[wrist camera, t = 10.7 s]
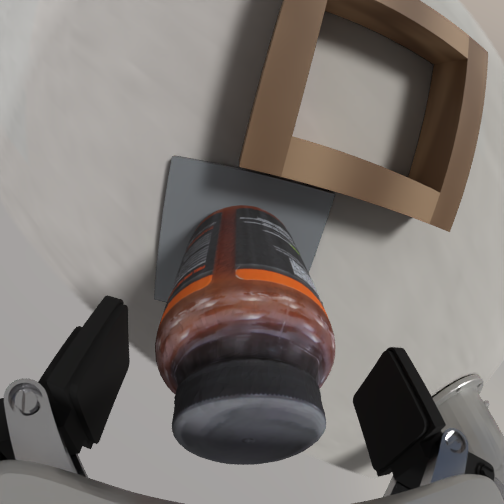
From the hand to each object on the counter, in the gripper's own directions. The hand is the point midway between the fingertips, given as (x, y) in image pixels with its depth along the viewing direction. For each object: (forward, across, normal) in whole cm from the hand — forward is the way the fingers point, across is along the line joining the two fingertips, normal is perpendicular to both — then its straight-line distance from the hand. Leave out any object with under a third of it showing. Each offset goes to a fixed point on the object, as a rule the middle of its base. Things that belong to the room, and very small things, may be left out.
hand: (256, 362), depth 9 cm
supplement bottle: (+8, +1, 0) cm, 8 cm away
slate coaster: (+8, +1, -1) cm, 9 cm away
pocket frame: (+8, -4, -12) cm, 15 cm away
